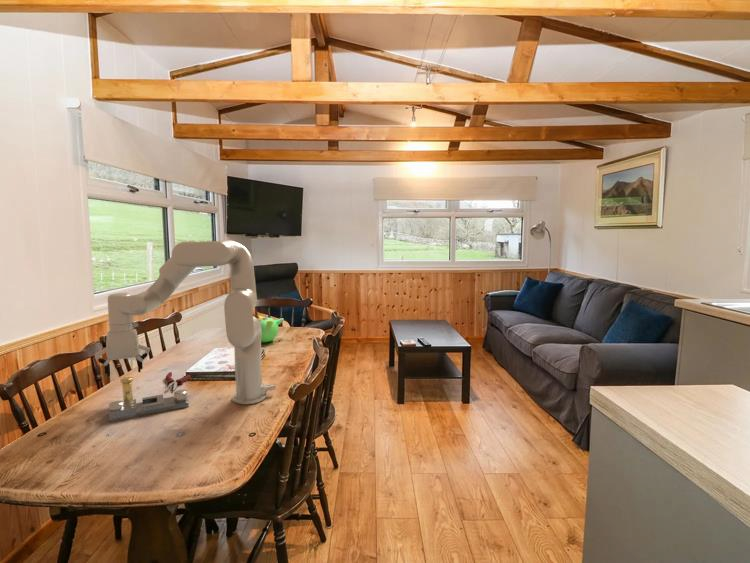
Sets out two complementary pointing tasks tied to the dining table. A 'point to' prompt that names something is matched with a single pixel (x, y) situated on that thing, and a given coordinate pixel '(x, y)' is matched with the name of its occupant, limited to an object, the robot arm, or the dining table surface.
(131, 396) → the brass pin
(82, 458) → the dining table surface
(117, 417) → the grey notched rail
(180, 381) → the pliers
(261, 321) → the green teapot
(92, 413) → the dining table surface
